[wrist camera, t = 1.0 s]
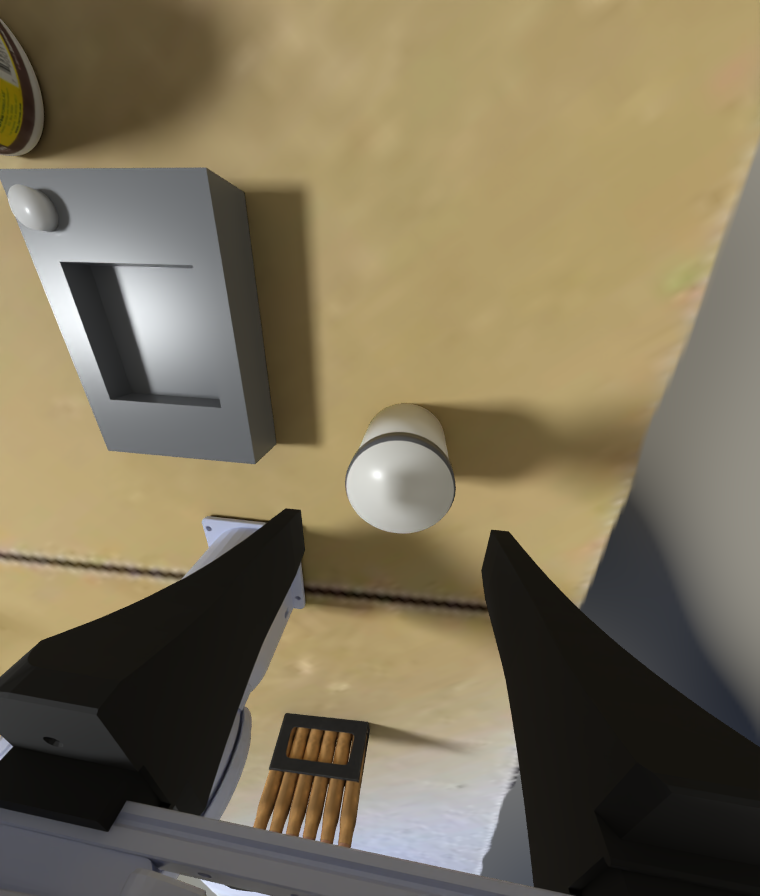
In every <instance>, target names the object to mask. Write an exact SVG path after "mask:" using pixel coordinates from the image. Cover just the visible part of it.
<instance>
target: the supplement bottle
mask: <svg viewBox="0 0 760 896" xmlns="http://www.w3.org/2000/svg"><path fill="white" fill-rule="evenodd" d="M43 124H44V108H43V101H42V95H41V91H40V87H39V84H38V81H37V78H36V75H35V72H34V70H33V68H32V65H31V63H30V61H29V59H28V57H27V55H26V54H25V52H24V50H23V48H22V47H21V45H20V43H19V42H18V40H17V39H16V38H15V36H14V35H13V33H12V32H11V31H10V29H9V28H8V27H7V26H6V24H5V23H4V22H3V21H2V20H1V19H0V155H5V156H18V155H23V154H26V153H28V152H29V151H31V150H32V149H33V148H34V147H35V146H36V144H37V143H38V141H39V139H40V137H41V134H42V130H43Z"/></svg>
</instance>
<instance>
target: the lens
mask: <svg viewBox="0 0 760 896" xmlns="http://www.w3.org/2000/svg"><path fill="white" fill-rule="evenodd" d="M345 486H346V492H347V496H348V499H349V501H350V503H351V505H352V507H353V508H354V510H355V511H356V512H357V514H358V515H359V516H360V517H361V518H362V519H364V520H365V521H366V522H367V523H369V524H371V525H372V526H374V527H376V528H379V529H381V530H384V531H388V532H393V533H413V532H418V531H422V530H424V529H427V528H429V527H431V526H433V525H434V524H436V523H437V522H438V521H440V520H441V519H442V518H443V517H444V515H445V514H446V513H447V512H448V510H449V509H450V507H451V505H452V503H453V501H454V497H455V490H456V486H455V478H454V473H453V469H452V466H451V463H450V461H449V457H448V451H447V446H446V440H445V435H444V431H443V428H442V425H441V423H440V422H439V420H438V419H437V418H436V416H435V415H434V414H433V413H431V412H430V411H429V410H427V409H425V408H423V407H421V406H419V405H415V404H409V403H401V404H395V405H391V406H389V407H386V408H385V409H383V410H381V411H380V412H379V413H378V414H377V415H376V416H375V417H374V418H373V419H372V421H371V422H370V424H369V427H368V429H367V431H366V433H365V436H364V438H363V440H362V443H361V445H360V447H359V449H358V451H357V452H356V453H355V455H354V457H353V459H352V461H351V463H350V465H349V468H348V470H347V474H346V480H345Z"/></svg>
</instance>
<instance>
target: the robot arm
mask: <svg viewBox="0 0 760 896" xmlns="http://www.w3.org/2000/svg"><path fill="white" fill-rule="evenodd" d="M202 524H203V528H204V531H205V535H206V538H207V542H208V546H209V548H208V549H207V551H206V552H205V553H204V554H203V555H202V556H201V557H200V559H199V560H198V561H197V562H196V563H195V564H194V565H193V567H192V568H191V569H190V570H189V571H188V572H187V573H186V575H185V576H184V577H183V578H182V579H181V580H180V581H178V582H176V583H174V584H172V585H170V586H168V587H166V588H164V589H162V590H160V591H158V592H156V593H154V594H152V595H150V596H149V597H146V598H144V599H142V600H140V601H138V602H136V603H134V604H131V605H129V606H127V607H125V608H122V609H120V610H118V611H115V612H113V613H111V614H109V615H106V616H104V617H101V618H99V619H96V620H94V621H92V622H89V623H86V624H84V625H81V626H78V627H76V628H73V629H71V630H68V631H65V632H63V633H60V634H57V635H55V636H52V637H49V638H47V639H44V640H41V641H40V642H39V643H38V644H37V645H36V646H35V647H33V648H32V649H31V650H30V651H29V652H28V653H27V654H25V655H24V656H23V657H22V658H21V659H20V660H19V661H18V662H16V663H15V664H14V665H13V666H12V667H11V668H10V669H8V670H7V671H6V672H5V673H4V674H3V675H2V676H1V677H0V735H1V737H0V896H206V891H205V890H203V889H201V888H198V887H195V886H193V885H190V884H187V883H185V882H182V881H179V880H177V878H178V876H179V875H180V874H181V875H185V876H190V877H194V878H198V879H202V880H207V881H211V882H215V883H219V884H224V885H228V886H232V887H236V888H241V889H245V890H249V891H253V892H258V893H262V894H266V895H270V896H760V747H759V746H757V745H755V744H754V743H753V742H751V741H750V740H748V739H747V738H745V737H744V736H742V735H741V734H739V733H738V732H736V731H735V730H733V729H732V728H730V727H729V726H727V725H726V724H724V723H723V722H721V721H720V720H718V719H717V718H715V717H714V716H712V715H711V714H709V713H708V712H706V711H705V710H704V709H702V708H701V707H699V706H698V705H697V704H695V703H694V702H692V701H691V700H690V699H688V698H687V697H686V696H684V695H683V694H682V693H680V692H679V691H677V690H676V689H675V688H673V687H672V686H671V685H669V684H668V683H667V682H665V681H664V680H663V679H661V678H660V677H659V676H657V675H656V674H655V673H653V672H652V671H651V670H649V669H648V668H647V667H646V666H645V665H643V664H642V663H641V662H639V661H638V660H637V659H636V658H634V657H633V656H632V655H631V654H630V653H628V652H627V651H626V650H625V649H623V648H622V647H621V646H620V645H618V644H617V643H616V642H615V641H614V640H613V639H612V638H610V637H609V636H608V635H607V634H606V633H605V632H604V631H602V630H601V629H600V628H599V627H598V626H597V625H596V624H595V623H594V622H592V621H591V620H590V619H589V618H588V617H587V616H586V615H585V614H584V613H583V612H581V611H580V609H578V608H577V607H576V606H575V605H574V604H573V603H572V602H571V601H570V600H569V599H568V598H567V597H566V596H565V595H564V594H563V593H562V591H561V590H560V589H559V588H558V587H557V586H556V585H555V584H554V583H553V582H552V581H551V580H550V579H549V578H548V577H547V575H546V574H545V573H544V572H543V571H542V570H541V569H540V568H539V567H538V565H537V564H536V563H535V562H534V561H533V560H532V558H531V557H530V556H529V555H528V554H527V553H526V551H525V550H524V549H523V548H522V547H521V546H520V544H519V543H518V542H517V541H516V540H515V538H514V537H513V536H512V535H511V534H510V532H508V531H499V530H491V533H490V537H489V541H488V546H487V550H486V554H485V558H484V562H483V566H482V570H481V571H482V579H483V587H484V594H485V600H486V604H487V608H488V612H489V616H490V620H491V623H492V627H493V631H494V635H495V639H496V643H497V646H498V650H499V654H500V658H501V662H502V666H503V670H504V675H505V679H506V685H507V691H508V696H509V702H510V708H511V714H512V721H513V727H514V734H515V740H516V747H517V753H518V760H519V768H520V775H521V782H522V790H523V797H524V805H525V813H526V822H527V829H528V838H529V847H530V855H531V864H532V873H533V883H534V887H531V886H525V885H520V884H516V883H512V882H507V881H502V880H498V879H493V878H488V877H484V876H479V875H474V874H470V873H465V872H460V871H455V870H451V869H446V868H441V867H437V866H432V865H427V864H423V863H418V862H413V861H409V860H404V859H399V858H394V857H390V856H385V855H380V854H376V853H371V852H366V851H362V850H357V849H352V848H348V847H343V846H338V845H333V844H329V843H324V842H319V841H315V840H310V839H305V838H301V837H296V836H291V835H287V834H282V833H277V832H272V831H268V830H263V829H258V828H254V827H249V826H244V825H240V824H235V823H230V822H226V821H221V820H220V818H221V816H222V814H223V813H224V811H225V809H226V807H227V805H228V803H229V801H230V799H231V797H232V795H233V793H234V791H235V788H236V786H237V784H238V781H239V779H240V776H241V774H242V771H243V768H244V765H245V762H246V759H247V755H248V751H249V746H250V740H251V727H252V717H251V713H250V711H249V709H248V708H247V707H245V703H246V701H247V699H248V697H249V694H250V692H251V691H253V690H254V689H255V687H256V686H257V685H258V684H259V683H260V681H261V680H262V678H263V677H264V675H265V673H266V671H267V669H268V667H269V664H270V662H271V659H272V657H273V655H274V652H275V650H276V648H277V645H278V643H279V640H280V638H281V636H282V633H283V631H284V629H285V626H286V624H287V622H288V619H289V617H290V614H291V612H292V610H293V608H297V609H302V608H304V606H305V593H304V584H303V575H302V566H301V560H302V557H303V554H304V551H305V546H304V536H303V526H302V517H301V510H296V509H284V510H283V511H282V512H280V513H279V514H278V515H276V516H275V517H274V518H272V519H271V520H270V521H268V522H267V523H265V522H256V521H247V520H238V519H229V518H220V517H211V516H207V517H205V518H204V519H203V520H202Z"/></svg>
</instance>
